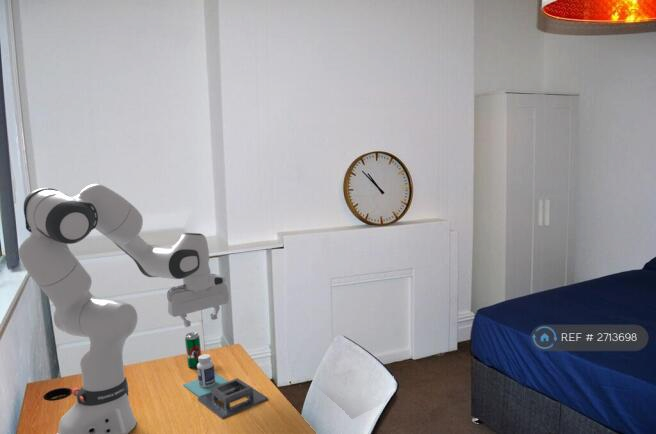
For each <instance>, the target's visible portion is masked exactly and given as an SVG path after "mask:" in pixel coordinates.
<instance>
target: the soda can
mask: <svg viewBox="0 0 656 434" xmlns="http://www.w3.org/2000/svg"><path fill="white" fill-rule="evenodd" d="M184 341H185V351H186V360H187V367H189V368H190V369H197V364H198V363H199V361H198V357H199V356H200V355H202V349H201V339H200V335H199V333H198V332H194V331H193V332H188V333H187V334H185V337H184Z"/></svg>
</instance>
